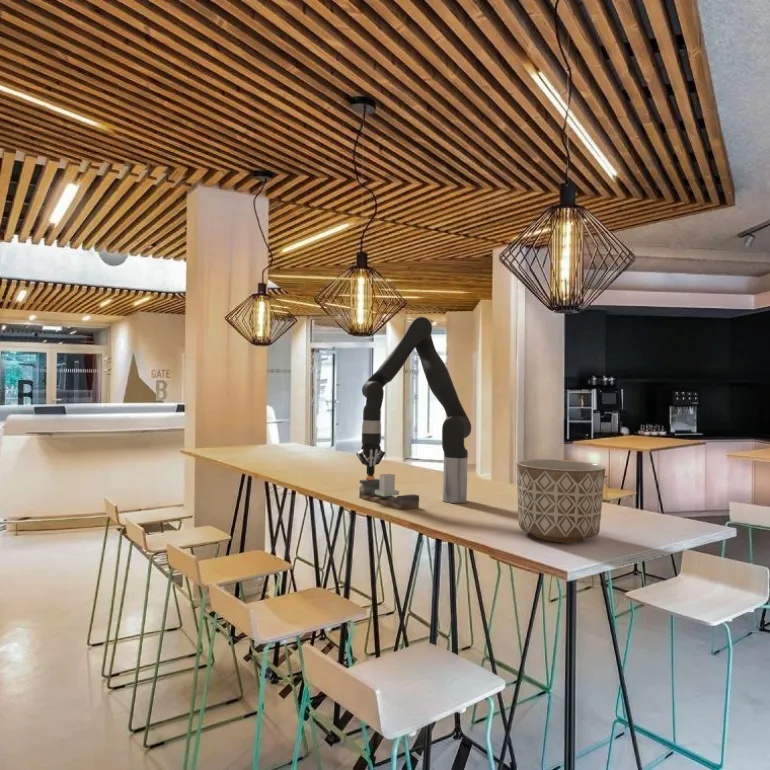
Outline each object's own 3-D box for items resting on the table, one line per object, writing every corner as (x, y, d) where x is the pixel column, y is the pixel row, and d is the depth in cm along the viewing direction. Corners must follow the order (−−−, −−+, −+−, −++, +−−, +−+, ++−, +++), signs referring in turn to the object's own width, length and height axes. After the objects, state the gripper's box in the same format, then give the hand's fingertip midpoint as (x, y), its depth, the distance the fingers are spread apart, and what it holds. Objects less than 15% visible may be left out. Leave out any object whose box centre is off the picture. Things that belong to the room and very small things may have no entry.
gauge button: (364, 479, 246) (364, 475, 246) (371, 478, 248) (371, 475, 248) (369, 480, 244) (369, 476, 244) (375, 479, 246) (376, 476, 246)
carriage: (374, 493, 238) (375, 474, 238) (389, 492, 242) (389, 473, 242) (384, 496, 233) (384, 476, 233) (398, 494, 237) (399, 475, 237)
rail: (358, 497, 245) (359, 480, 245) (375, 496, 250) (376, 478, 250) (400, 510, 223) (401, 490, 223) (418, 507, 228) (419, 488, 228)
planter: (617, 537, 191) (619, 465, 191) (580, 552, 171) (582, 473, 171) (539, 522, 208) (541, 457, 208) (498, 535, 189) (500, 463, 189)
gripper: (379, 430, 253) (378, 473, 253) (352, 431, 245) (351, 475, 245) (390, 432, 247) (389, 475, 247) (363, 433, 239) (362, 478, 239)
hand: (370, 475), depth 246 cm, fingers closed
